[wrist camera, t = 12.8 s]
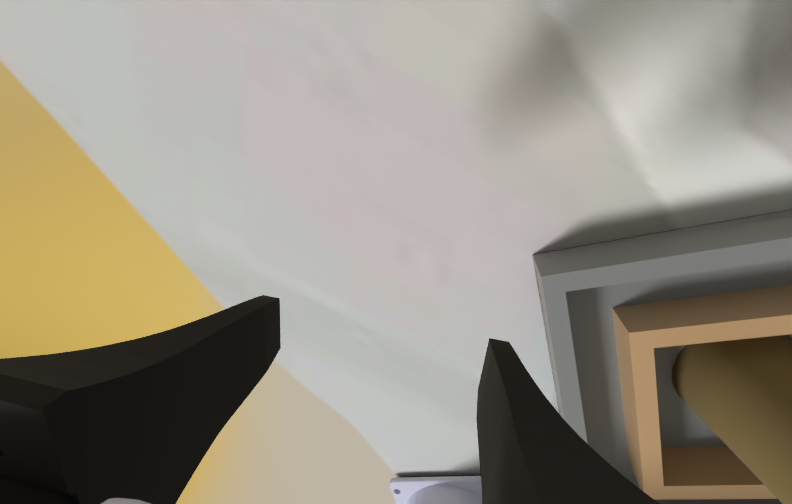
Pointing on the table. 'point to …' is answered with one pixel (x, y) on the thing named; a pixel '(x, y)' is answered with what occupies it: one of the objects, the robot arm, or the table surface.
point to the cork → (744, 401)
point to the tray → (662, 345)
